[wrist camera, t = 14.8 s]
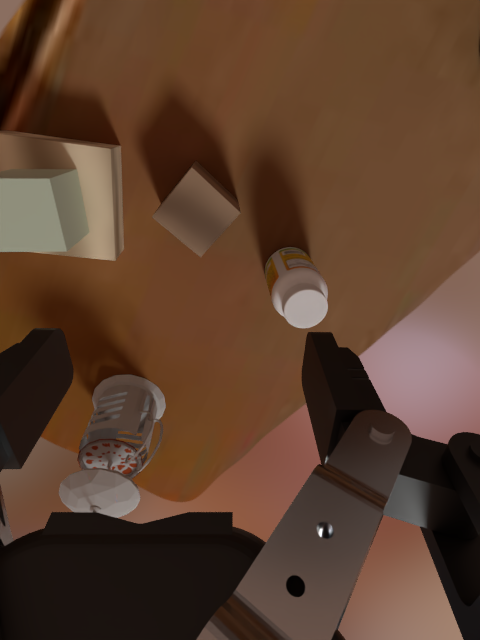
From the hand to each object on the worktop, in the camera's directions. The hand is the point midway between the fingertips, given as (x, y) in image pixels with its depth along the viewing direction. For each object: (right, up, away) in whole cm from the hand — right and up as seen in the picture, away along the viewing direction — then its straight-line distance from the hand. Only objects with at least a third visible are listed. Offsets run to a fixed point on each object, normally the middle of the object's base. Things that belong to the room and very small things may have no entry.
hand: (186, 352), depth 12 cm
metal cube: (-2, +13, +24) cm, 28 cm away
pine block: (-15, +14, +24) cm, 31 cm away
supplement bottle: (+7, +7, +28) cm, 30 cm away
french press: (-13, -10, +37) cm, 40 cm away
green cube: (-15, +12, +20) cm, 28 cm away
